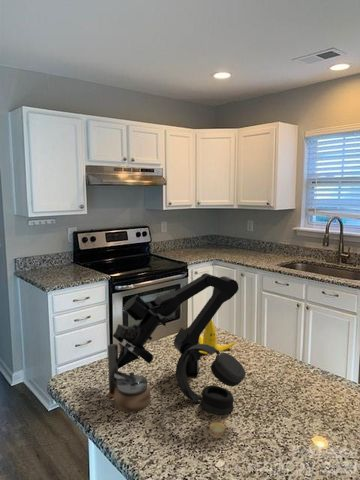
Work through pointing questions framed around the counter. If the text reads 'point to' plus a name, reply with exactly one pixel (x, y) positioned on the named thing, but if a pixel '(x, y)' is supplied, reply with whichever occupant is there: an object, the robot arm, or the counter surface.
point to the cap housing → (131, 400)
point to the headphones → (223, 370)
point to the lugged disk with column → (123, 376)
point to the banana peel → (212, 338)
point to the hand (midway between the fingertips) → (115, 368)
